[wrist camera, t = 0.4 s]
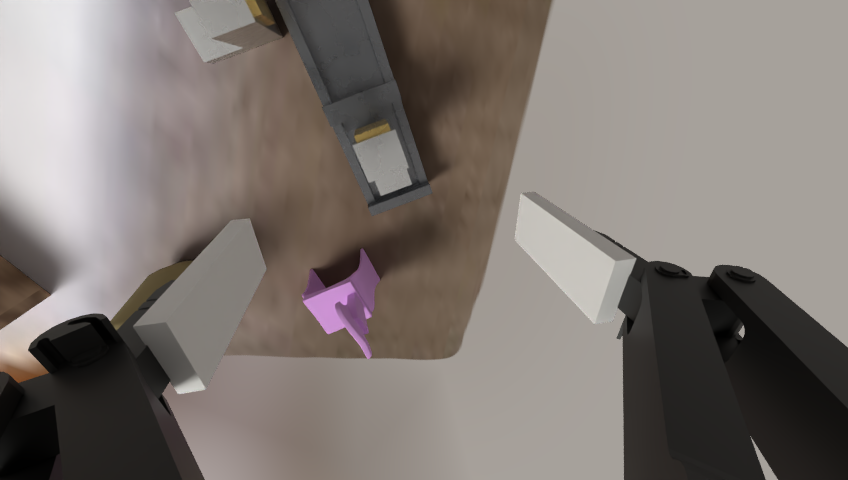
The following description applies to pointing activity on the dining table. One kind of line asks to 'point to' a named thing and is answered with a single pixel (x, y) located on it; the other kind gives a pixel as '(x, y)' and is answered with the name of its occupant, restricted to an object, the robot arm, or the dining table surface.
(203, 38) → the gold-topped white block
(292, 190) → the dining table surface
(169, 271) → the squeeze bottle
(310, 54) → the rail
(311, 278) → the toy chair
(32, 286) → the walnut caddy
